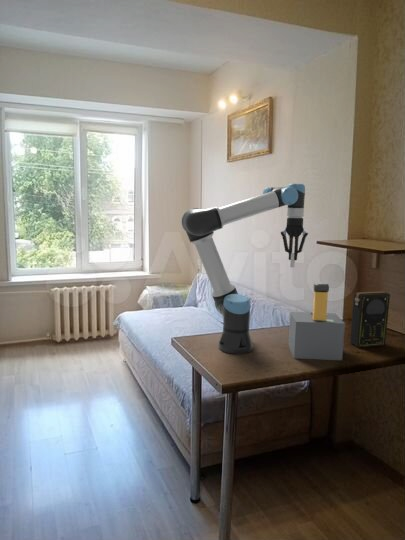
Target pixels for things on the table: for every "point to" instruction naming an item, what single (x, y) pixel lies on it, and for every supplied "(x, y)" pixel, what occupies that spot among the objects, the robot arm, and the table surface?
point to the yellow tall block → (320, 301)
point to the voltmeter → (369, 319)
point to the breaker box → (316, 336)
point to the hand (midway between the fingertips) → (292, 266)
